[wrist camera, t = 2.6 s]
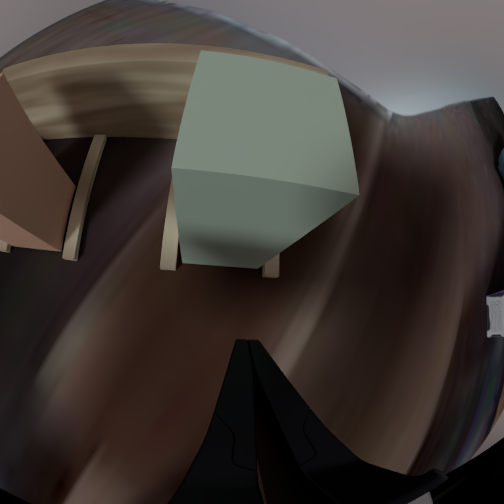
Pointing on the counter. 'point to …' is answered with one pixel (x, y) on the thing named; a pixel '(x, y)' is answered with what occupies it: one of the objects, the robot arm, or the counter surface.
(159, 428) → the counter surface
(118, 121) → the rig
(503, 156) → the decorative pot
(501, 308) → the candy box
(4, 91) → the terracotta block
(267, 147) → the sage block
